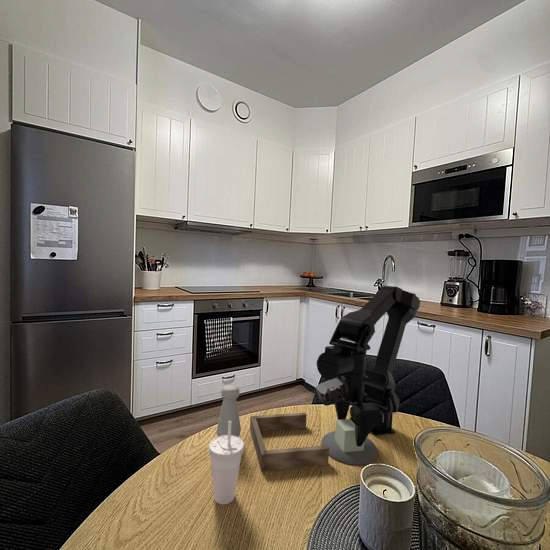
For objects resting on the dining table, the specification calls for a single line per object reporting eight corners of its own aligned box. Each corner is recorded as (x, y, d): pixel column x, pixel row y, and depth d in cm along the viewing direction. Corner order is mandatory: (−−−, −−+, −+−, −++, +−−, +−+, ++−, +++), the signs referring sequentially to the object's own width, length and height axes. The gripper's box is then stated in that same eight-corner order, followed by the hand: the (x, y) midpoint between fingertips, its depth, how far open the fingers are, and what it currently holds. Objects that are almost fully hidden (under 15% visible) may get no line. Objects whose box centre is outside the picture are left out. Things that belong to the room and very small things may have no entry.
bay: (304, 425, 83) (305, 412, 82) (328, 464, 67) (329, 448, 66) (249, 429, 79) (250, 416, 79) (260, 471, 63) (261, 454, 63)
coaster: (360, 431, 81) (360, 429, 81) (389, 461, 68) (389, 459, 68) (313, 434, 78) (313, 432, 78) (334, 467, 65) (334, 465, 65)
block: (353, 438, 76) (354, 418, 76) (363, 450, 71) (364, 429, 71) (334, 440, 75) (335, 420, 75) (343, 452, 70) (344, 430, 70)
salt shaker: (238, 448, 71) (240, 392, 71) (213, 446, 71) (216, 391, 71) (241, 434, 77) (243, 383, 76) (218, 433, 77) (221, 381, 77)
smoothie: (226, 516, 51) (229, 434, 51) (198, 499, 55) (201, 422, 55) (249, 493, 57) (252, 418, 57) (222, 479, 60) (225, 409, 60)
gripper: (307, 359, 80) (304, 418, 80) (337, 386, 62) (333, 463, 62) (347, 358, 83) (344, 415, 83) (387, 384, 64) (383, 457, 65)
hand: (349, 434), depth 73 cm, fingers open, 9 cm apart
